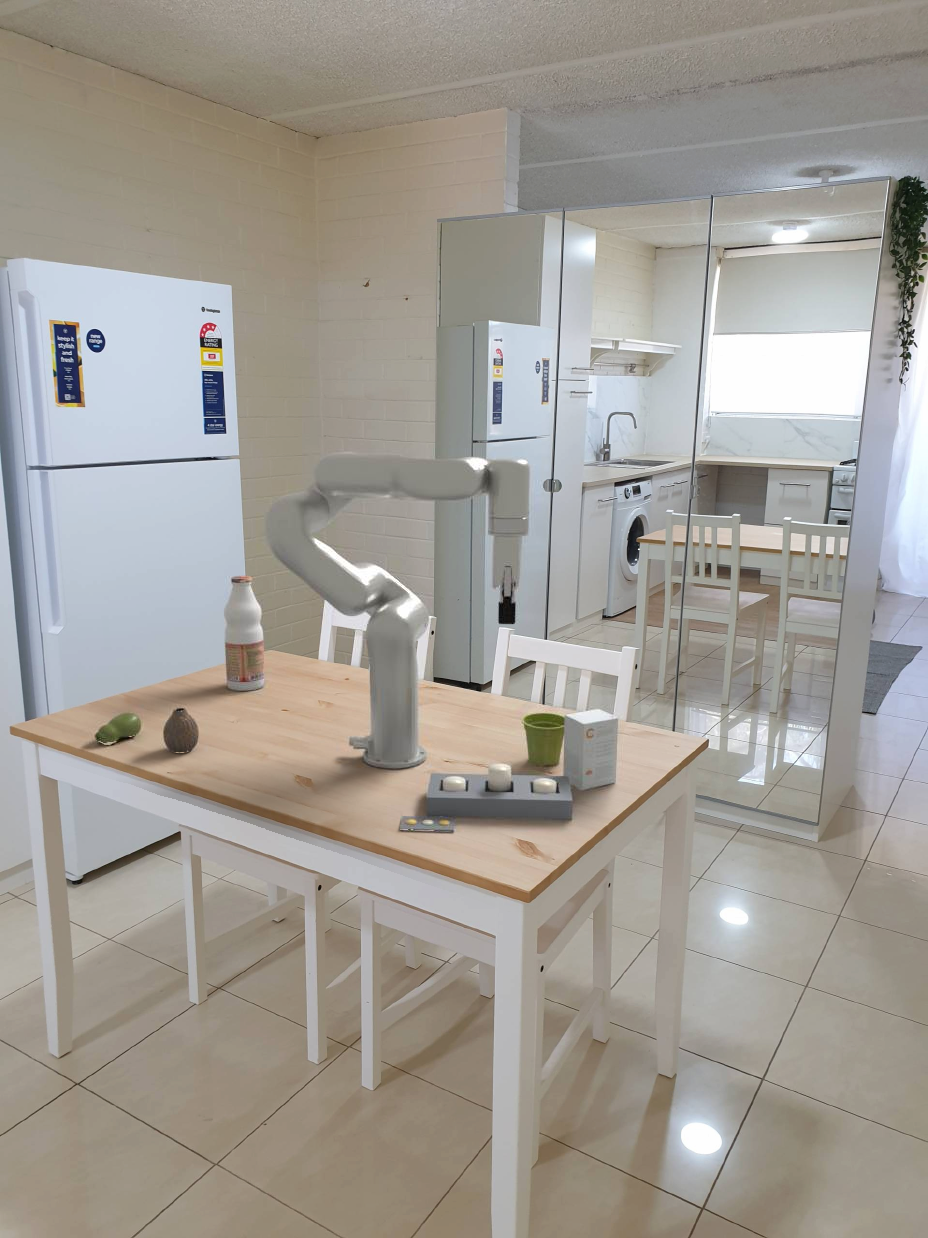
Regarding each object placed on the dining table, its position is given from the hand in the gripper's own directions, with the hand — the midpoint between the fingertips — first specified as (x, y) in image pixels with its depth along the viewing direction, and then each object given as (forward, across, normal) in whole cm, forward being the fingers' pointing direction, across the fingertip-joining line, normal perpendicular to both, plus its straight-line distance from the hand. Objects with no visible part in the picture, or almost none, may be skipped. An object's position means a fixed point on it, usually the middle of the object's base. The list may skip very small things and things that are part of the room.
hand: (506, 623), depth 178 cm
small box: (+29, +6, +16) cm, 34 cm away
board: (+29, +18, -1) cm, 34 cm away
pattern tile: (+29, +27, -13) cm, 42 cm away
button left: (+28, +18, -9) cm, 35 cm away
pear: (+29, -11, -81) cm, 87 cm away
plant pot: (+29, -4, +8) cm, 31 cm away
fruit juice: (+29, -52, -65) cm, 88 cm away
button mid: (+26, +18, -1) cm, 31 cm away
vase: (+29, -6, -66) cm, 72 cm away
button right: (+28, +18, +7) cm, 34 cm away
